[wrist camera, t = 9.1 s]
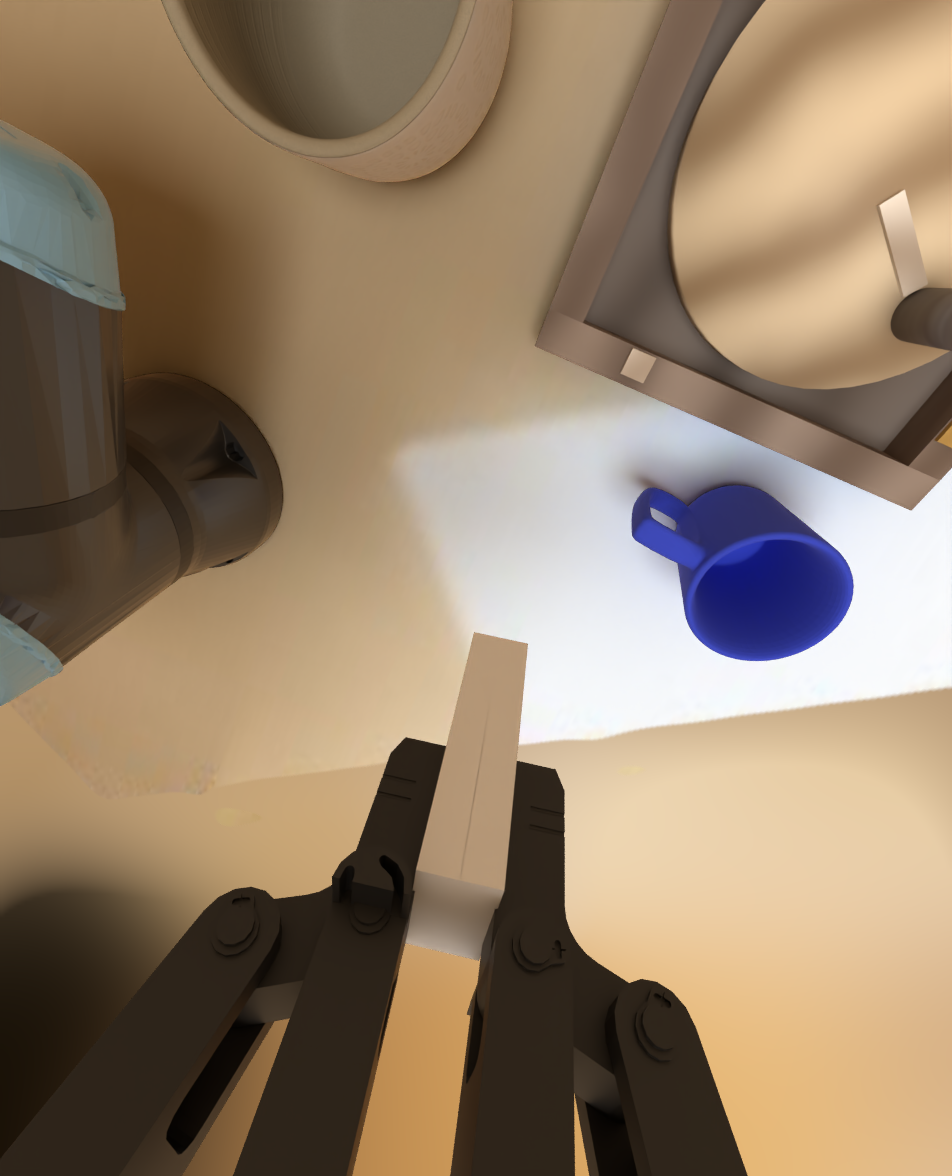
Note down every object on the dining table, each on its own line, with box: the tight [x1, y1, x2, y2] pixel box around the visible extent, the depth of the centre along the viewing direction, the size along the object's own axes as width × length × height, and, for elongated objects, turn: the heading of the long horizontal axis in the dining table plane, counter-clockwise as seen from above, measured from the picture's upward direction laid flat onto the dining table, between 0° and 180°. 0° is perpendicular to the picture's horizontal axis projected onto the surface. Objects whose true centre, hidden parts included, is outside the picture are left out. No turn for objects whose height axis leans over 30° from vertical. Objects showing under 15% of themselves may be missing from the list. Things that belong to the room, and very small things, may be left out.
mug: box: [632, 485, 854, 661], centre depth 31 cm, size 8×12×10 cm
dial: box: [667, 0, 952, 389], centre depth 22 cm, size 18×18×8 cm
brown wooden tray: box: [535, 0, 952, 510], centre depth 24 cm, size 24×24×4 cm
